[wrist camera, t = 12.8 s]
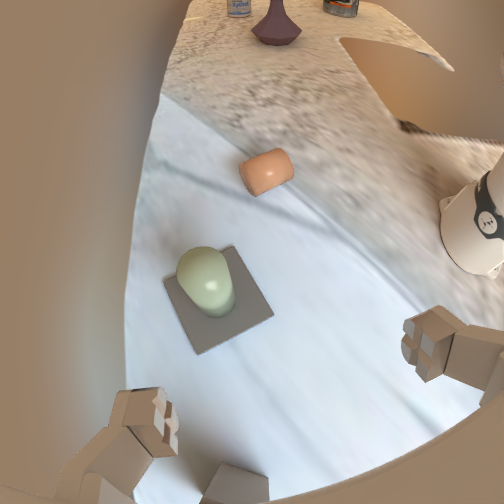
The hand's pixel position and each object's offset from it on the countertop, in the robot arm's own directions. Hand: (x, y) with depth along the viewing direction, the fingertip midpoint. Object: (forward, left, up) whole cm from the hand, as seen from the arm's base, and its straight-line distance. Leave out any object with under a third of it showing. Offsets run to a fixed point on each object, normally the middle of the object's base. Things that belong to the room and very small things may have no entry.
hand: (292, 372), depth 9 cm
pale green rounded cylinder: (+1, -13, -31) cm, 33 cm away
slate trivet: (+1, -13, -31) cm, 34 cm away
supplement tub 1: (-54, -113, -32) cm, 129 cm away
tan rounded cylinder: (-15, -29, -26) cm, 42 cm away
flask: (-50, -79, -32) cm, 99 cm away
